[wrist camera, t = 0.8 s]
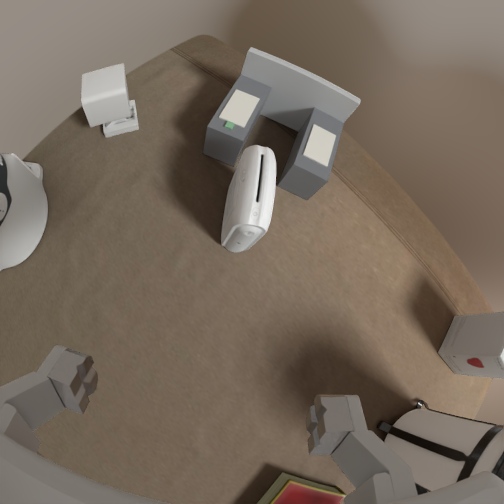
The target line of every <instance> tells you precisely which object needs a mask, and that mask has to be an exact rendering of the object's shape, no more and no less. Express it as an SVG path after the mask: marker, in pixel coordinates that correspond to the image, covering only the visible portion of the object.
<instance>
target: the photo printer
mask: <svg viewBox="0 0 504 504" xmlns="http://www.w3.org/2000/svg"><path fill="white" fill-rule="evenodd" d="M275 186H276V159H275V155H274V152H273V151H272V150H271V149H270V148H268V147H262V146H259V145H253V146H249V147H247V148H246V149H245V150H244V151H243V153H242V155H241V158H240V160H239V163H238V165H237V168H236V170H235V173H234V175H233V178H232V181H231V183H230V186H229V189H228V193H227V199H226V204H225V210H224V217H223V224H222V233H221V245H222V246H224V247H225V248H226V249H227V250H229V251H231V252H241V251H243V250H248V249H249V248H251V247H252V246H253V245H254V244H255V243H256V242H257V241H258V240H259V239H260V238H261V237H262V236H263V235H264V234H265V233H266V232H267V230H268V227H269V224H270V221H271V216H272V210H273V204H274V196H275Z"/></svg>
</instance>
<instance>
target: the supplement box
mask: <svg viewBox="0 0 504 504" xmlns="http://www.w3.org/2000/svg"><path fill="white" fill-rule="evenodd" d="M438 354H439V355H440V356H441V357H442V359H443V360H444V361H445V362H446V363H447V365H448V366H449V367H450V368H451V369H452V371H453V372H454V373H455V374H459V375H468V376H478V377H490V378H504V312H496V313H484V314H471V315H457V316H454V319H453V321H452V323H451V326H450V328H449V330H448V332H447V335H446V337H445V339H444V341H443V343H442V345H441V347H440V349H439V351H438Z"/></svg>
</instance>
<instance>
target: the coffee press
mask: <svg viewBox="0 0 504 504" xmlns="http://www.w3.org/2000/svg"><path fill="white" fill-rule="evenodd" d="M423 404H424V405H425V407H426V408H427V409H428V410H425V409H421V406H422V405H423ZM377 428H379V429H381V430H383V431H385V432H386V433H388V434H387V436H386V438H385V441H384V443H385V444H386V445H387V446H388V447H389V448H391V449H392V450H393V451H394V452H395V453H396V454H397V455H398V456H399V457H400V458H401V459H402V460H403V461H405V462H406V463H407V464H408V465H409V466H410V467H411V471H412V474H413V478H414V482H415V486H416V490H417V494H418V495H421V494H424V493H428V492H427V491H429V492H431V491H434V490H437V489H440V488H443V487H445V486H448V485H451V484H454V483H456V482H459V481H461V480H464V479H466V478H469V477H471V476H473V475H476V474H478V473H480V472H483V471H490V472H491V473H493V474H495V475H496V476H498V477H499V478H500V479H502V480H503V481H504V426H503V425H496V424H492V423H487V422H482V421H477V420H472V419H468V418H463V417H459V416H455V415H451V414H447V413H443V412H439V411H435V410H431V409H429V408H428V405H427V403H425V402H424V401H423V400H421V401H419V402H418V403H417V409H415V410H412V411H409V412H407V413H406V414H404V415H403V416H402V417H400V418H399V419H398V420H397V421H396V422H395V424H394V425H393V426H391V425H389V424H387V423H385V422H383V421H380V423H379V425H378V426H377ZM426 490H427V491H426Z"/></svg>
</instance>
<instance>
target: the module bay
mask: <svg viewBox="0 0 504 504" xmlns="http://www.w3.org/2000/svg"><path fill="white" fill-rule="evenodd" d="M359 105H360V99H359V98H357V97H355V96H354V95H352V94H350V93H349V92H347V91H345V90H343V89H342V88H340V87H338V86H336V85H334V84H332V83H330V82H328V81H326V80H325V79H323V78H321V77H319V76H317V75H315V74H312V73H311V72H308V71H306V70H304V69H302V68H300V67H298V66H296V65H293V64H291V63H289V62H287V61H284V60H282V59H280V58H277V57H275V56H272V55H270V54H268V53H265V52H262V51H259V50H257V49H255V48H252V47H251V48H250V49H249V51H248V53H247V56H246V59H245V63H244V66H243V69H242V72H241V75H240V77H239V78H238V80H237V81H236V83H235V84H234V85H233V87H232V88H231V90H230V91H229V93H228V95H227V96H226V98H225V99H224V101H223V102H222V104H221V105H220V107H219V108H218V110H217V112H216V113H215V115H214V116H213V118H212V120H211V121H210V123H209V124H208V126H207V131H206V137H205V143H204V149H203V154H205V155H207V156H210V157H212V158H214V159H217V160H219V161H222V162H224V163H226V164H229V165H231V166H233V167H234V165H235V163H236V161H237V159H238V157H239V155H240V153H241V151H242V149H243V147H244V145H245V143H246V141H247V139H248V137H249V135H250V133H251V131H252V129H253V127H254V125H255V123H256V121H257V119H258V117H259V115H263V116H265V117H267V118H270V119H272V120H274V121H276V122H278V123H281V124H283V125H285V126H287V127H289V128H291V129H293V130H295V131H297V132H298V134H297V137H296V139H295V142H294V144H293V147H292V150H291V152H290V155H289V157H288V160H287V162H286V165H285V168H284V170H283V173H282V175H281V178H280V181H279V183H278V187H280V188H282V189H284V190H287V191H289V192H291V193H293V194H295V195H297V196H299V197H301V198H303V199H305V200H308V199H309V198H310V197H312V196H313V195H314V194H315V193H316V192H317V191H318V190H319V189H320V188H321V187H322V186H323V185H325V184H326V183H327V182H328V179H329V176H330V172H331V169H332V165H333V162H334V158H335V154H336V150H337V147H338V143H339V139H340V135H341V131H342V128H343V124H344V122H345V121H346V120H347V118H348V117H349V116H350V115H351V114H352V113H353V112H354V110H355V109H356V108H357V107H358V106H359Z"/></svg>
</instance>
